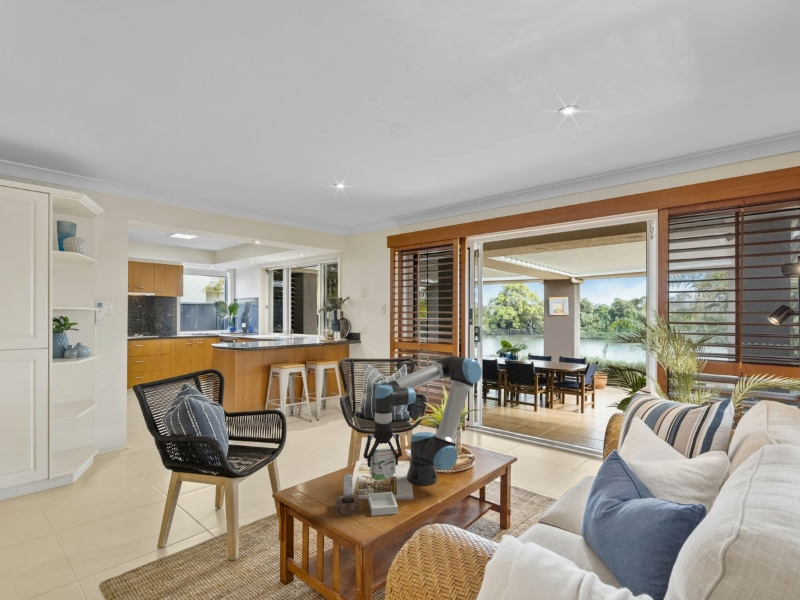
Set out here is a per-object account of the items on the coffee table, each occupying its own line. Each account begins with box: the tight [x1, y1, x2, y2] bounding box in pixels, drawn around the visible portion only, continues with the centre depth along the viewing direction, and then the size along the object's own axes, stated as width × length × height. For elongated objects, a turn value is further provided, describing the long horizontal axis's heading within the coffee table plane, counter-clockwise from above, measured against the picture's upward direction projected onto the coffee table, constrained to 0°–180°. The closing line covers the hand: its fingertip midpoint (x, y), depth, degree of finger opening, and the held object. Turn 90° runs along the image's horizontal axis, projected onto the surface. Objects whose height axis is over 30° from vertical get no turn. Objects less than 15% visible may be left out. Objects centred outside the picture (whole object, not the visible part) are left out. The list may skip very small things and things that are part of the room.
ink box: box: [371, 446, 395, 482], centre depth 183 cm, size 9×5×12 cm, turn 123°
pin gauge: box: [343, 473, 353, 503], centre depth 180 cm, size 4×4×14 cm
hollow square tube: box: [334, 493, 362, 517], centre depth 180 cm, size 10×10×4 cm
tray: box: [367, 491, 399, 517], centre depth 183 cm, size 11×14×3 cm
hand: (382, 473), depth 183 cm, fingers closed on ink box, 9 cm apart
